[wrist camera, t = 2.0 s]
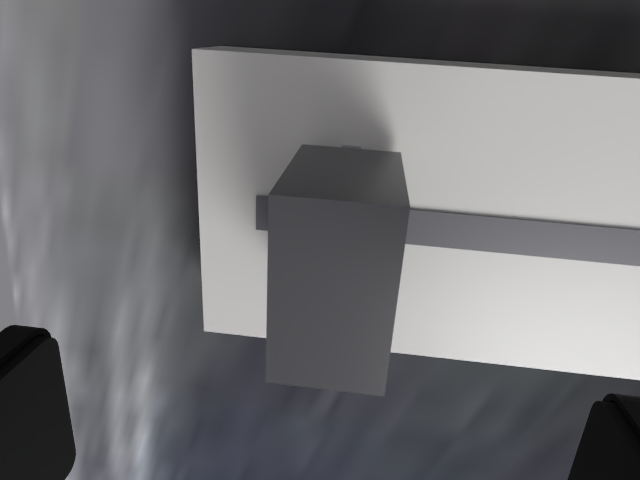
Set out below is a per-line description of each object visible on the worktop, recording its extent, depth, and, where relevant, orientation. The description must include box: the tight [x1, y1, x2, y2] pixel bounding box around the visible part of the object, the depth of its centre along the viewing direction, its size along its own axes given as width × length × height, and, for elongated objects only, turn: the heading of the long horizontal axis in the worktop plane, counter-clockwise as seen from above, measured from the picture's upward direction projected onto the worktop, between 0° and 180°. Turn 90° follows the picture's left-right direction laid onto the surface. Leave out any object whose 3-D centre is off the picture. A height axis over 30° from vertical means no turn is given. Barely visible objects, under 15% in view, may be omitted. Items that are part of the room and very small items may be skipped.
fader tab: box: [266, 144, 410, 396], centre depth 14 cm, size 5×3×5 cm, turn 177°
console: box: [192, 46, 640, 380], centre depth 17 cm, size 10×26×3 cm, turn 87°
